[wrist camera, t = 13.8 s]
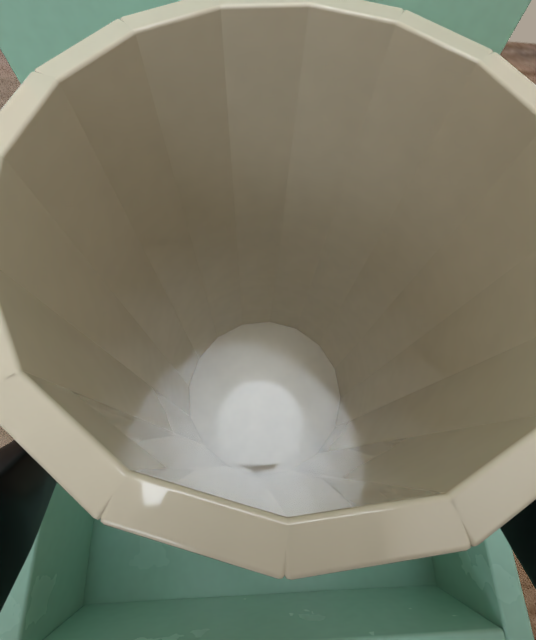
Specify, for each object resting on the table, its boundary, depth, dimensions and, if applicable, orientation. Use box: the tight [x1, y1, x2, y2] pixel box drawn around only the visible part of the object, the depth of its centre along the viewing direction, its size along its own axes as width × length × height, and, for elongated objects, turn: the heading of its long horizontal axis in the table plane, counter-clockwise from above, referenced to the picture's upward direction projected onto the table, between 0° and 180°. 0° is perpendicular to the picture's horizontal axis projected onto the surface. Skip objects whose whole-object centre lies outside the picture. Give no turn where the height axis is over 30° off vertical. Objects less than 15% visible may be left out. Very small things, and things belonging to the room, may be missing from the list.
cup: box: [0, 0, 536, 580], centre depth 10 cm, size 7×7×13 cm
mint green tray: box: [0, 483, 534, 640], centre depth 15 cm, size 17×15×5 cm
